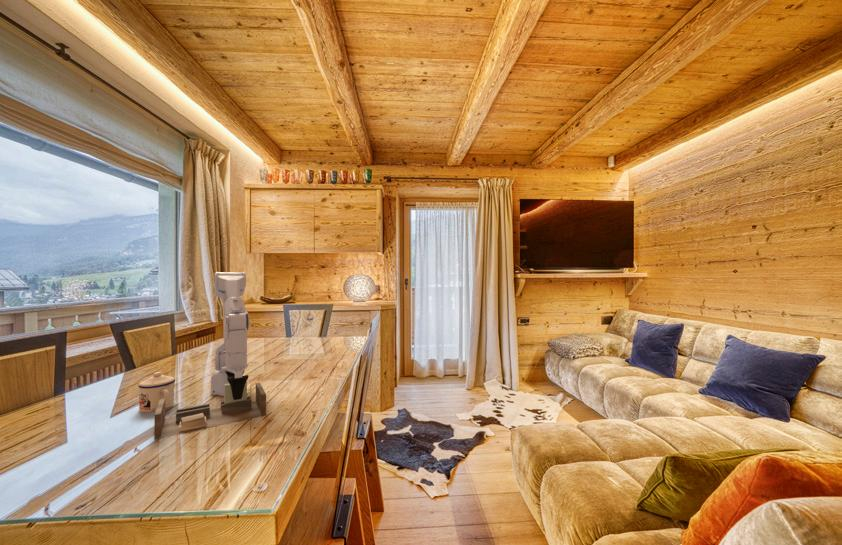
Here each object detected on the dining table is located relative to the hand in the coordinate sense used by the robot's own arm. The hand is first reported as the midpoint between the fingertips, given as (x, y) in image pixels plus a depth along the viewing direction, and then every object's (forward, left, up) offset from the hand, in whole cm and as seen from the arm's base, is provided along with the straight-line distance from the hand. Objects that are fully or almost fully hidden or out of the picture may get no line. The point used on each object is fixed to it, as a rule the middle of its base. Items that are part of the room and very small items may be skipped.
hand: (236, 395), depth 102 cm
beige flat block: (0, 0, -4) cm, 4 cm away
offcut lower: (-3, -13, -4) cm, 14 cm away
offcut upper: (-3, -13, -3) cm, 13 cm away
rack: (-2, -7, -5) cm, 9 cm away
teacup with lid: (-25, -4, -5) cm, 26 cm away
